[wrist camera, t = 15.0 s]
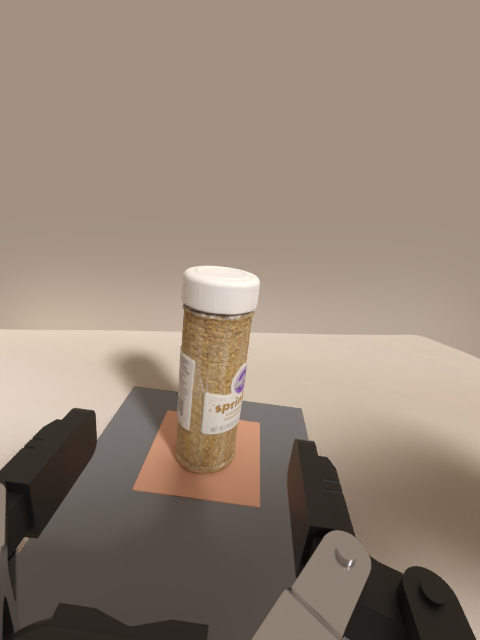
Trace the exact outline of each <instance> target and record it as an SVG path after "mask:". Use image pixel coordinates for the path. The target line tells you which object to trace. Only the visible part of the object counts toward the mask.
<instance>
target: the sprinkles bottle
mask: <svg viewBox="0 0 480 640" xmlns="http://www.w3.org/2000/svg"><path fill="white" fill-rule="evenodd" d="M259 286H260V281H259V279H258V277H257V276H255V275H254V274H252V273H249V272H246V271H243V270H239V269H234V268H228V267H219V266H198V267H191V268H189V269H187V270H186V271H185V272H184V274H183V283H182V297H181V298H182V301H183V303H184V305H183V309H184V318H183V332H182V345H181V351H180V369H179V387H178V405H177V418H178V429H177V441H176V443H175V448H174V451H175V455H176V458H177V460H178V462H179V463H180V464H181V465H182V466H183V467H185V468H186V469H187V470H189V471H191V472H194V473H199V474H208V473H211V474H212V473H215V472H219V471H221V470H223V469H225V468H226V467H227V466H229V464H231V463H232V461H233V459H234V458H235V454H236V444H235V443H236V434H237V427H238V421H239V418H240V413H241V405H242V397H243V390H244V382H245V375H246V367H247V362H246V360H247V353H248V345H249V337H250V329H251V322H252V316H253V314H254V311H253V310H254V309H255V308H256V307H257V302H258V295H259Z"/></svg>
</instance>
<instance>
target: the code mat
mask: <svg viewBox="0 0 480 640" xmlns="http://www.w3.org/2000/svg"><path fill="white" fill-rule="evenodd" d="M177 405H178V392H173V391H165V390H158V389H150V388H143V387H134V388H133V390H132V391H131V392H130V394H129V395H128V397H127V398H126V400H125V401H124V403H123V404H122V406H121V407H120V408H119V410H118V411H117V413H116V414H115V416H114V417H113V419H112V420H111V422H110V423H109V424H108V426H107V427H106V429H105V430H104V432H103V433H102V435H101V436H100V437H99V439H98V440H97V445H96V449H95V452H94V455H93V457H92V458H91V460H90V461H89V463H88V464H87V466H86V467H85V469H84V470H83V472H82V473H81V475H80V476H79V478H78V479H77V481H76V482H75V484H74V485H73V487H72V488H71V490H70V491H69V493H68V494H67V496H66V497H65V499H64V500H63V502H62V503H61V505H60V506H59V508H58V509H57V511H56V512H55V514H54V515H53V517H52V518H51V519H50V521H49V522H48V524H47V525H46V527H45V528H44V530H43V531H42V533H41V534H40V536H39V537H38V539H35V538H30V539H29V540H28V542H27V543H26V545H25V546H24V548H23V549H22V551H21V552H20V553H19V555H18V611H19V622H20V629H21V628H23V627H25V626H27V625H29V624H32V623H34V622H36V621H39V620H43V619H46V618H50V617H52V616H53V614H54V612H55V610H56V608H57V606H58V604H59V603H65V604H72V605H79V606H85V607H92V608H97V609H98V610H100V611H102V612H104V613H106V614H107V615H109V616H111V617H113V618H115V619H116V620H118V621H120V622H122V623H124V624H126V625H128V626H137V625H143V624H148V623H154V622H160V621H166V620H171V619H172V620H179V621H186V622H193V623H199V624H206V625H209V628H208V636H207V639H209V640H252V638H253V637H254V635H255V634H256V632H257V631H258V629H259V628H260V626H261V624H262V623H263V621H264V620H265V618H266V617H267V615H268V614H269V612H270V611H271V609H272V608H273V606H274V605H275V603H276V602H277V600H278V599H279V597H280V596H281V594H282V593H283V592H284V590H285V589H286V588H288V587H289V588H291V587H292V586H293V584H294V583H295V581H296V580H297V578H296V575H295V564H294V554H293V543H292V533H291V522H290V511H289V501H288V490H287V472H288V466H289V462H290V457H291V452H292V448H293V443H294V440H295V439H301V440H308V437H307V432H306V428H305V423H304V418H303V413H302V409H301V408H293V407H286V406H278V405H271V404H263V403H256V402H248V401H242V405H241V413H240V418H239V421H238V427H237V434H236V443H235V444H236V454H235V458H234V459H233V461H232V463H231V464H229V466H227V467H226V468H225V469H223V470H221V471H219V472H215V473H212V474H211V473H208V474H199V473H194V472H191V471H189V470H187V469H186V468H185V467H183V466H182V465H181V464H180V463H179V462H178V460H177V458H176V455H175V451H174V448H175V443H176V441H177V429H178V418H177ZM343 640H350V639H348V638H346V637H344V639H343Z"/></svg>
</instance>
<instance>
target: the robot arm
mask: <svg viewBox="0 0 480 640" xmlns="http://www.w3.org/2000/svg"><path fill="white" fill-rule="evenodd" d="M96 445H97V432H96V415H95V412H94V411H93V410H87V409H79V408H73V409H72V410H71V411H70V412H69V413H68V414H67V415H66V416H65V417H64V418H63V419H62V420H59V419H56V420H55V421H53V422H51V423H49V424H48V425H46V426H44V427H43V428H42V429H41V430H40V431H39V432H38V433H37V434H36V435H35V436H34V437H33V439H32V440H30V441H29V442H28V443H27V444H26V445H25V446H24V448H22V449H21V450H20V451H19V452H18V453H17V454H16V455H15V456H14V457H13V458H12V459H11V460H10V461H9V462H8V463H7V464H6V465H5V466H4V467H3V468H2V469H1V470H0V640H209V639H207V636H208V628H209V625H206V624H199V623H193V622H186V621H179V620H172V619H171V620H166V621H160V622H154V623H148V624H143V625H137V626H128V625H126V624H124V623H122V622H120V621H118V620H116V619H115V618H113V617H111V616H109V615H107V614H106V613H104V612H102V611H100V610H98V609H97V608H92V607H85V606H79V605H72V604H65V603H59V604H58V606H57V608H56V610H55V612H54V614H53V616H52V617H50V618H46V619H43V620H39V621H36V622H34V623H32V624H29V625H27V626H25V627H23V628H21V629H20V622H19V611H18V551H17V546H18V545H19V544H20V542H21V541H22V539H23V538H24V537H29V538H35V539H38V537H39V536H40V534H41V533H42V531H43V530H44V528H45V527H46V525H47V524H48V522H49V521H50V519H51V518H52V517H53V515H54V514H55V512H56V511H57V509H58V508H59V506H60V505H61V503H62V502H63V500H64V499H65V497H66V496H67V494H68V493H69V491H70V490H71V488H72V487H73V485H74V484H75V482H76V481H77V479H78V478H79V476H80V475H81V473H82V472H83V470H84V469H85V467H86V466H87V464H88V463H89V461H90V460H91V458H92V457H93V455H94V452H95V449H96ZM287 490H288V501H289V511H290V522H291V533H292V543H293V554H294V564H295V575H296V578H297V580H296V581H295V583H294V584H293V586H292V587H291V588H289V587H288V588H286V589H285V590H284V592H283V593H282V594H281V596H280V597H279V599H278V600H277V602H276V603H275V605H274V606H273V608H272V609H271V611H270V612H269V614H268V615H267V617H266V618H265V620H264V621H263V623H262V624H261V626H260V628H259V629H258V631H257V632H256V634H255V635H254V637H253V638H252V640H343V639H344V637H346V638H348V639H350V640H476V638H475V636H474V634H473V632H472V629H471V627H470V625H469V623H468V621H467V618H466V616H465V614H464V612H463V609H462V607H461V605H460V603H459V601H458V599H457V597H456V595H455V593H454V592H453V590H452V589H451V588H450V587H449V585H448V584H447V583H446V582H445V581H444V580H443V579H442V578H441V577H439V576H438V575H437V574H435V573H434V572H432V571H430V570H428V569H426V568H423V567H418V566H413V567H410V568H408V569H407V570H406V571H405V572H404V574H403V573H401V572H399V571H396V570H394V569H392V568H390V567H388V566H386V565H384V564H382V563H380V562H378V561H376V560H375V559H373V558H372V557H371V556H370V555H369V554H368V551H367V550H366V548H365V547H364V545H363V544H362V543H361V542H360V541H359V540H358V539H357V538H356V537H355V534H354V531H353V527H352V524H351V520H350V517H349V513H348V510H347V506H346V503H345V499H344V496H343V494H342V489H341V485H340V483H339V478H338V475H337V471H336V468H335V467H334V466H333V464H332V463H331V462H330V460H329V459H328V457H322V456H318V453H317V449H316V445H315V442H314V441H308V440H301V439H295V440H294V443H293V448H292V452H291V457H290V462H289V466H288V472H287Z"/></svg>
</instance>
